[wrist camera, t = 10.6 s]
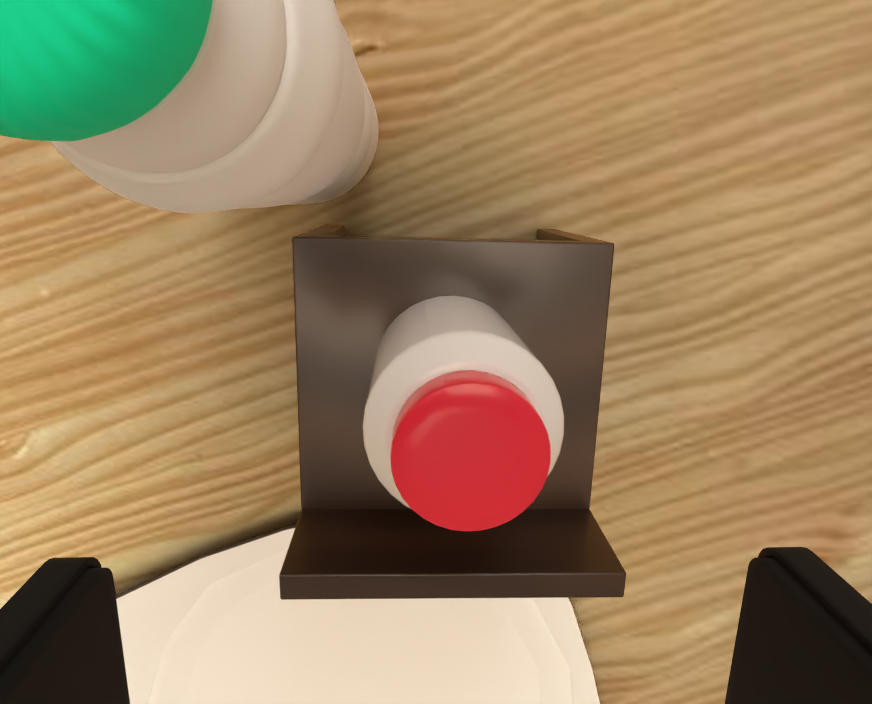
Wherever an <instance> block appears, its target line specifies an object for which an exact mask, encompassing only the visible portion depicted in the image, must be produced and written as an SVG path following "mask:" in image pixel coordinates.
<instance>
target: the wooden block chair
mask: <svg viewBox="0 0 872 704" xmlns="http://www.w3.org/2000/svg"><path fill="white" fill-rule="evenodd" d="M292 244H293V274H294V303H295V333H296V363H297V393H298V423H299V453H300V482H301V512H300V515H299V518H298V521H297V524H296V527H295V530H294V533H293V536H292V539H291V542H290V545H289V548H288V551H287V554H286V557H285V560H284V563H283V566H282V569H281V572H280V574H279V583H280V598H281V599H282V600H295V599H432V598H570V597H623V596H624V588H625V579H626V572H625V570H624V569H623V567H622V565H621V563H620V562H619V560H618V558H617V556H616V555H615V553H614V551H613V550H612V548H611V546H610V544H609V543H608V541H607V539H606V537H605V536H604V534H603V532H602V530H601V529H600V527H599V525H598V523H597V522H596V520H595V518H594V517H593V515H592V513H591V511H590V510H589V508H590V497H591V486H592V476H593V465H594V455H595V444H596V434H597V423H598V412H599V402H600V391H601V381H602V370H603V359H604V349H605V338H606V328H607V317H608V306H609V296H610V285H611V275H612V264H613V253H614V244H613V243H610V242H605V241H602V240H597V239H593V238H589V237H585V236H581V235H576V234H572V233H568V232H564V231H560V230H555V229H538V230H537V240H510V239H463V238H415V237H368V236H345V225H328V224H327V225H324V226H321V227H319V228H316V229H313V230H310V231H308V232H305V233H302V234H300V235H297V236H294V237H293V238H292ZM438 296H461V297H468V298H472V299H474V300H477V301H480V302H483V303H485V304H487V305H488V306H490V307H492V308H493V309H495V310H496V311H498V312H499V313H500V314H501V315H502V316H503V317H504V318H505V319H506V320H507V321H508V322H509V323H510V324H511V326H512V327H513V328H514V329H515V331H516V332H517V333H518V334H519V336H520V337H521V338H522V339H523V341H524V342H525V343H526V344H527V346H528V347H529V348H530V349H531V351H532V352H533V353H534V354H535V356H536V357H537V358H538V359H539V361H540V362H541V363H542V365H543V366H544V368H545V369H546V370H547V372H548V373H549V375H550V376H551V377H552V379H553V381H554V383H555V386H556V388H557V390H558V392H559V395H560V397H561V402H562V407H563V412H564V436H563V441H562V445H561V450H560V454H559V456H558V458H557V460H556V463H555V465H554V467H553V470H552V471H551V473H550V474H549V475H548V477H547V479H546V481H545V483H544V485H543V488H542V490H541V491H540V493H539V494H538V496H537V497H536V498H535V500H534V501H533V502H532V503H531V504H530V505H529V506H528V507H527V508H526V509H525V510H524V511H523V512H522V513H521V514H519V515H518V516H516V517H515V518H513V519H512V520H510V521H508V522H506V523H504V524H501V525H499V526H497V527H493V528H489V529H485V530H481V531H458V530H450V529H447V528H444V527H440V526H437V525H435V524H433V523H431V522H429V521H427V520H425V519H423V518H422V517H421V516H420V515H418V514H417V513H416V512H415V511H413V510H412V509H410V508H408V507H406V506H405V505H403V504H402V503H401V502H400V501H398V500H397V499H396V498H395V497H393V496H392V495H391V494H390V493H389V492H388V491H387V489H386V488H385V487H384V486H383V485H382V483H381V482H380V481H379V480H378V478H377V476H376V474H375V472H374V471H373V469H372V467H371V465H370V463H369V460H368V457H367V453H366V450H365V447H364V439H363V418H364V411H365V404H366V399H367V394H368V389H369V384H370V379H371V374H372V369H373V364H374V359H375V354H376V351H377V348H378V345H379V343H380V340H381V338H382V336H383V335H384V333H385V331H386V330H387V328H388V326H389V325H390V324H391V323H392V322H393V321H394V320H395V319H396V318H397V316H398V315H400V314H401V313H402V312H404V311H405V310H407V309H408V308H409V307H411V306H413V305H415V304H417V303H419V302H421V301H423V300H427V299H431V298H435V297H438Z"/></svg>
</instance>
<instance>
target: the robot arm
mask: <svg viewBox="0 0 872 704" xmlns="http://www.w3.org/2000/svg"><path fill="white" fill-rule="evenodd" d="M0 704H130V699H129V692H128V684H127V677H126V669H125V662H124V654H123V647H122V639H121V632H120V624H119V617H118V609H117V602H116V594H115V587H114V579H113V575H112V572H111V570H110V569H109V568H101V564H100V562H99V561H98V559H96V558H94V557H81V558H52V559H49V560H48V561H46V562H45V563H44V564H43V565H42V566H41V567H40V568H39V569H38V570H37V571H36V572H35V573H34V574H33V575H32V576H31V577H30V579H29V580H28V581H27V582H26V583H25V584H24V585H23V586H22V587H21V588H20V589H19V590H18V591H17V592H16V593H15V594H14V595H13V596H12V597H11V599H10V600H9V601H8V602H7V603H6V604H5V605H4V606H3V607H2V608H1V609H0ZM725 704H872V604H871V603H870V602H869V601H867V600H866V599H865V598H864V597H863V596H862V595H861V594H860V593H858V592H857V591H856V590H855V589H854V588H853V587H852V586H851V585H849V584H848V583H847V582H846V581H845V580H844V579H843V578H842V577H840V576H839V575H838V574H837V573H836V572H835V571H834V570H832V569H831V568H830V567H829V566H828V565H827V564H826V563H825V562H823V561H822V560H821V559H820V558H819V557H818V556H817V555H816V554H814V553H813V552H812V551H810V550H809V549H807V548H803V547H773V548H765V549H763V550H762V551H761V552H760V554H759V556H758V558H754V559H752V560H751V561H750V563H749V566H748V571H747V577H746V583H745V589H744V595H743V601H742V606H741V612H740V618H739V624H738V630H737V636H736V641H735V647H734V653H733V659H732V665H731V671H730V676H729V682H728V688H727V694H726V700H725Z"/></svg>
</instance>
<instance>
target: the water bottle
mask: <svg viewBox="0 0 872 704" xmlns="http://www.w3.org/2000/svg"><path fill="white" fill-rule="evenodd" d="M0 135H3V136H8V137H14V138H21V139H28V140H40V141H49V142H50V143H51V144H52V145H53V146H54V147H55V148H56V150H57V151H58V152H59V153H60V154H61V155H62V156H63V157H64V158H66V159H67V160H68V161H69V162H70V163H71V164H72V165H73V166H75V167H76V168H77V169H78V170H79V171H81V172H82V173H83V174H85V175H86V176H87V177H89V178H90V179H92V180H93V181H95V182H96V183H98V184H99V185H101V186H103V187H104V188H106V189H108V190H110V191H112V192H114V193H116V194H117V195H119V196H122V197H124V198H126V199H128V200H131V201H133V202H136V203H139V204H142V205H145V206H148V207H152V208H156V209H160V210H165V211H171V212H179V213H193V214H200V213H215V212H222V211H228V210H232V209H236V208H265V207H274V206H281V205H299V204H316V203H322V202H327V201H330V200H333V199H335V198H338V197H340V196H342V195H343V194H345V193H347V192H348V191H350V190H351V189H352V188H353V187H354V186H355V185H356V184H357V183H359V182H360V180H361V179H362V178H363V177H364V175H365V174H366V172H367V171H368V169H369V167H370V165H371V163H372V161H373V159H374V156H375V152H376V149H377V143H378V135H379V128H378V117H377V112H376V108H375V105H374V102H373V99H372V97H371V94H370V92H369V90H368V88H367V85H366V83H365V80H364V78H363V76H362V74H361V72H360V70H359V67H358V64H357V61H356V58H355V55H354V52H353V49H352V47H351V44H350V42H349V40H348V37H347V35H346V33H345V30H344V28H343V26H342V24H341V22H340V20H339V18H338V14H337V10H336V6H335V3H334V0H0Z"/></svg>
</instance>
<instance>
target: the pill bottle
mask: <svg viewBox="0 0 872 704" xmlns="http://www.w3.org/2000/svg"><path fill="white" fill-rule="evenodd" d="M563 436H564V412H563V407H562V402H561V397H560V395H559V392H558V390H557V388H556V386H555V383H554V381H553V379H552V377H551V376H550V375H549V373H548V372H547V370H546V369H545V368H544V366H543V365H542V363H541V362H540V361H539V359H538V358H537V357H536V356H535V354H534V353H533V352H532V351H531V349H530V348H529V347H528V346H527V344H526V343H525V342H524V341H523V339H522V338H521V337H520V336H519V334H518V333H517V332H516V331H515V329H514V328H513V327H512V326H511V324H510V323H509V322H508V321H507V320H506V319H505V318H504V317H503V316H502V315H501V314H500V313H499V312H498V311H496V310H495V309H493V308H492V307H490V306H488V305H487V304H485V303H483V302H480V301H477V300H474V299H472V298H468V297H461V296H438V297H435V298H431V299H427V300H423V301H421V302H419V303H417V304H415V305H413V306H411V307H409V308H408V309H407V310H405V311H404V312H402V313H401V314H400V315H398V316H397V318H396V319H395V320H394V321H393V322H392V323H391V324H390V325H389V326H388V328H387V330H386V331H385V333H384V335H383V336H382V338H381V340H380V343H379V345H378V348H377V351H376V354H375V359H374V364H373V369H372V374H371V379H370V384H369V389H368V394H367V399H366V404H365V411H364V418H363V439H364V447H365V450H366V453H367V457H368V460H369V463H370V465H371V467H372V469H373V471H374V472H375V474H376V476H377V478H378V480H379V481H380V482H381V483H382V485H383V486H384V487H385V488H386V489H387V491H388V492H389V493H390V494H391V495H392V496H393V497H395V498H396V499H397V500H398V501H400V502H401V503H402V504H403V505H405V506H406V507H408V508H410V509H412V510H413V511H415V512H416V513H417V514H418V515H420V516H421V517H422V518H423V519H425V520H427V521H429V522H431V523H433V524H435V525H437V526H440V527H444V528H447V529H450V530H458V531H481V530H485V529H489V528H493V527H497V526H499V525H501V524H504V523H506V522H508V521H510V520H512V519H513V518H515V517H516V516H518V515H519V514H521V513H522V512H523V511H524V510H525V509H526V508H527V507H528V506H529V505H530V504H531V503H532V502H533V501H534V500H535V498H536V497H537V496H538V494H539V493H540V491H541V490H542V488H543V485H544V483H545V481H546V479H547V477H548V475H549V474H550V473H551V471H552V470H553V467H554V465H555V463H556V460H557V458H558V456H559V454H560V450H561V445H562V441H563Z"/></svg>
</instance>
